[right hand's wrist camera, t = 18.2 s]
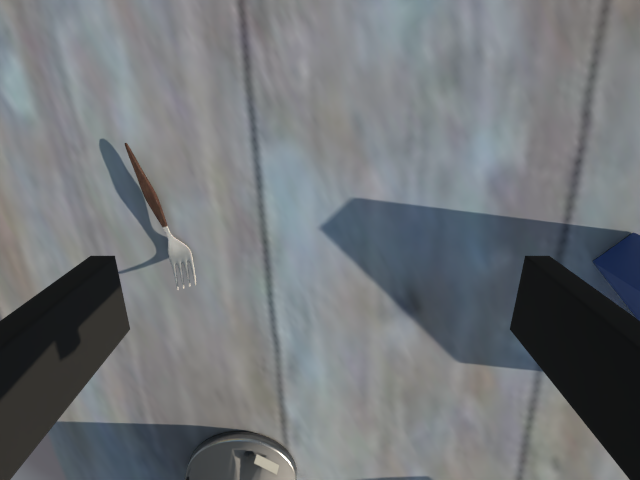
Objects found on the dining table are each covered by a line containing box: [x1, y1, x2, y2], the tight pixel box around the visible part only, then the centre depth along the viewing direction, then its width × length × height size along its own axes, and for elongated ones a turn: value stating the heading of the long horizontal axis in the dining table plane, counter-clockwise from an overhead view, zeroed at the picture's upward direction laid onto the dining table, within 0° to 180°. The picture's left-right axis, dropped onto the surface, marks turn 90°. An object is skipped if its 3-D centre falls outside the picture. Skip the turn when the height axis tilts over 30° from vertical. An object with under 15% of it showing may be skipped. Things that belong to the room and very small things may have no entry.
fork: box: [125, 143, 196, 290], centre depth 40 cm, size 3×16×2 cm, turn 16°
